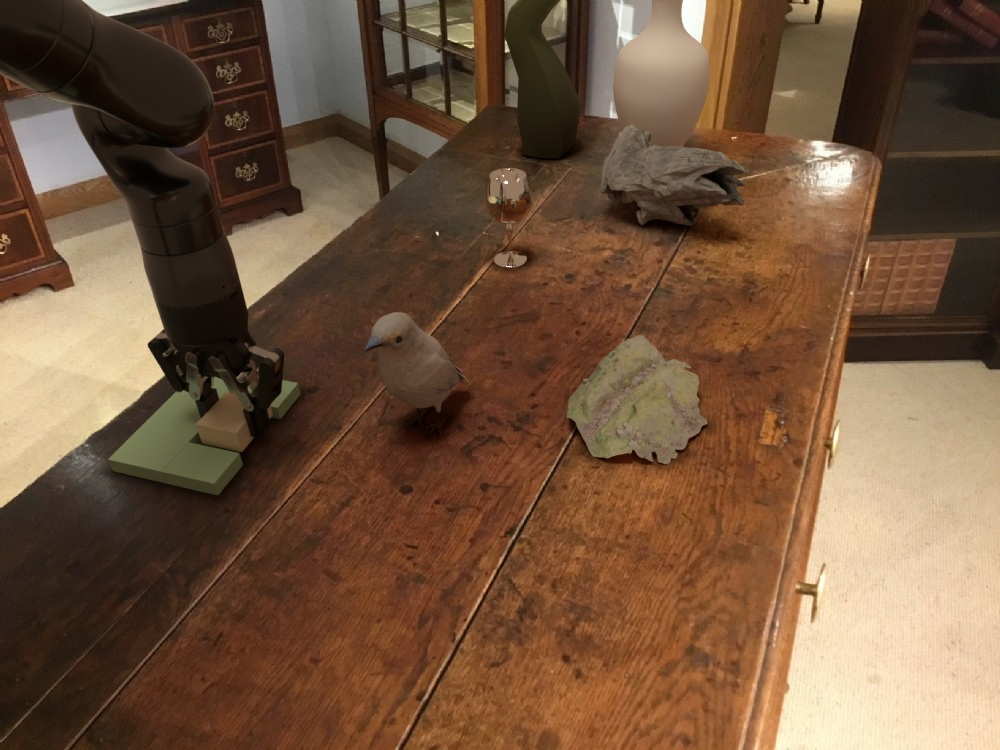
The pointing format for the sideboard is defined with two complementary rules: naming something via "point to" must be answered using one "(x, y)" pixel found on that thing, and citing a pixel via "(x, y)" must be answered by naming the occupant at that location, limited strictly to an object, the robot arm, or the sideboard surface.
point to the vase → (662, 78)
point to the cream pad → (226, 424)
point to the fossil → (668, 178)
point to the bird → (413, 364)
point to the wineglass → (508, 208)
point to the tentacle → (541, 84)
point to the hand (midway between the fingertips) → (237, 427)
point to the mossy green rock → (637, 404)
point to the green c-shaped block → (186, 444)
